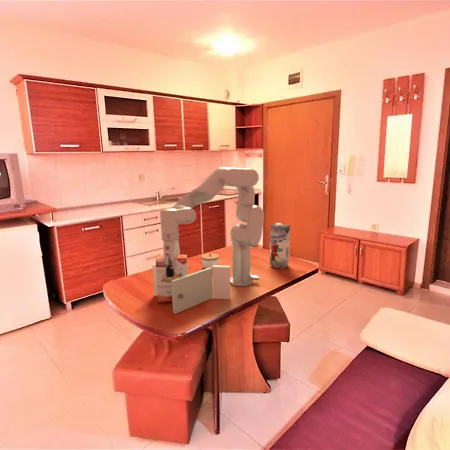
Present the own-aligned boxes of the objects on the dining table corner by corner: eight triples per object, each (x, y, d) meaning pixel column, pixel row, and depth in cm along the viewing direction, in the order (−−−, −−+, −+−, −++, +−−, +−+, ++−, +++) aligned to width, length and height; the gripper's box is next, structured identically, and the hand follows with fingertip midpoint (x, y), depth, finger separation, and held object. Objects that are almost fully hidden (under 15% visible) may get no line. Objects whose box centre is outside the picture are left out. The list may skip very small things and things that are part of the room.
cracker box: (157, 302, 145) (154, 259, 140) (159, 297, 151) (156, 255, 146) (188, 301, 146) (186, 257, 142) (189, 295, 152) (187, 253, 147)
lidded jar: (197, 269, 190) (197, 254, 188) (208, 264, 198) (208, 249, 196) (212, 272, 184) (212, 257, 182) (222, 267, 193) (222, 252, 190)
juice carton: (276, 262, 200) (277, 220, 194) (290, 266, 192) (292, 222, 186) (267, 266, 193) (268, 222, 187) (282, 270, 186) (283, 225, 180)
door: (211, 296, 152) (210, 267, 149) (215, 298, 150) (214, 268, 147) (173, 313, 137) (171, 280, 134) (177, 315, 135) (175, 282, 132)
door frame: (230, 297, 152) (230, 265, 149) (229, 299, 151) (229, 267, 147) (155, 294, 157) (153, 263, 153) (154, 295, 155) (152, 264, 151)
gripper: (172, 241, 133) (175, 281, 137) (183, 231, 150) (185, 267, 154) (155, 241, 134) (158, 281, 138) (167, 231, 151) (169, 266, 155)
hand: (172, 273), depth 146 cm, fingers closed on cracker box, 6 cm apart
